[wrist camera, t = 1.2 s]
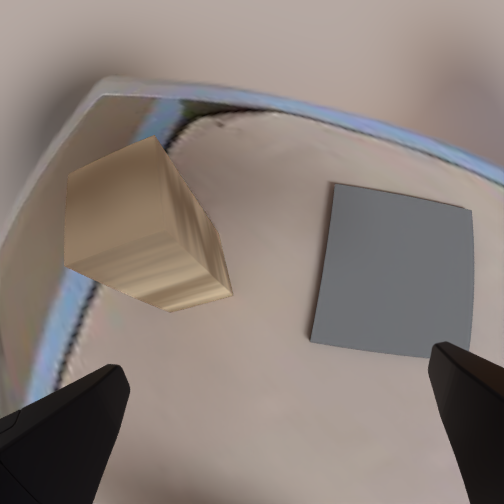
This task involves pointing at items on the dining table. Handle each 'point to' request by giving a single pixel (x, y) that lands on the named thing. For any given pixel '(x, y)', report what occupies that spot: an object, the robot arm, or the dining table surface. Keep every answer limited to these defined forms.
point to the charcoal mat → (395, 274)
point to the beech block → (143, 230)
